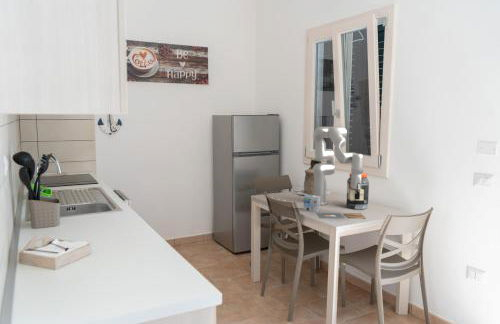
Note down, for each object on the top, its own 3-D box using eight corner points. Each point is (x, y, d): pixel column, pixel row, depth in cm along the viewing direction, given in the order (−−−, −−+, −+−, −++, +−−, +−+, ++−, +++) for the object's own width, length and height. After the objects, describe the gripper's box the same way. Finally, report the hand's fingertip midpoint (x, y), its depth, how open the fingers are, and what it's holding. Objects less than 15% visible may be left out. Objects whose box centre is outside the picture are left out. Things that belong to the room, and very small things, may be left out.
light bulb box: (302, 210, 282) (303, 195, 280) (306, 208, 287) (306, 194, 286) (317, 212, 277) (317, 197, 275) (320, 210, 282) (320, 195, 281)
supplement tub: (367, 205, 298) (369, 172, 295) (368, 210, 283) (369, 175, 280) (346, 204, 302) (347, 171, 299) (345, 209, 287) (347, 174, 284)
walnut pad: (343, 214, 272) (343, 213, 272) (360, 214, 273) (360, 213, 272) (348, 218, 260) (348, 217, 260) (366, 218, 261) (366, 217, 261)
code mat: (315, 213, 273) (315, 212, 273) (339, 213, 273) (339, 213, 273) (319, 218, 259) (319, 218, 259) (344, 219, 259) (344, 218, 259)
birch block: (347, 198, 268) (348, 188, 267) (360, 198, 268) (361, 188, 267) (350, 200, 262) (350, 190, 261) (363, 200, 262) (364, 190, 261)
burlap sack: (324, 198, 324) (325, 160, 320) (296, 195, 334) (297, 158, 330) (331, 192, 346) (332, 157, 342) (304, 190, 356) (305, 155, 352)
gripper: (347, 170, 271) (346, 195, 273) (354, 173, 254) (353, 200, 256) (358, 170, 271) (357, 195, 273) (366, 173, 254) (365, 200, 256)
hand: (355, 197), depth 265 cm, fingers closed on birch block, 6 cm apart
